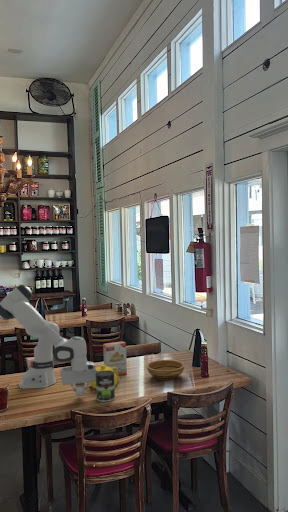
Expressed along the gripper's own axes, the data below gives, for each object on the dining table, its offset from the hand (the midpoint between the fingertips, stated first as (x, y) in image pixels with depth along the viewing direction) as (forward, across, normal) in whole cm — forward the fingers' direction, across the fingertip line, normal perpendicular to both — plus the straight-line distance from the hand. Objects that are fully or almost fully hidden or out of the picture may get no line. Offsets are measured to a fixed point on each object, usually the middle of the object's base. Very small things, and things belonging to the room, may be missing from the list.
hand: (80, 390), depth 241 cm
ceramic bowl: (+5, +56, +18) cm, 59 cm away
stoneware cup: (+2, 0, 0) cm, 2 cm away
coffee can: (+5, +13, -5) cm, 15 cm away
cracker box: (+5, +27, +34) cm, 44 cm away
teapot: (+5, +17, +15) cm, 23 cm away
